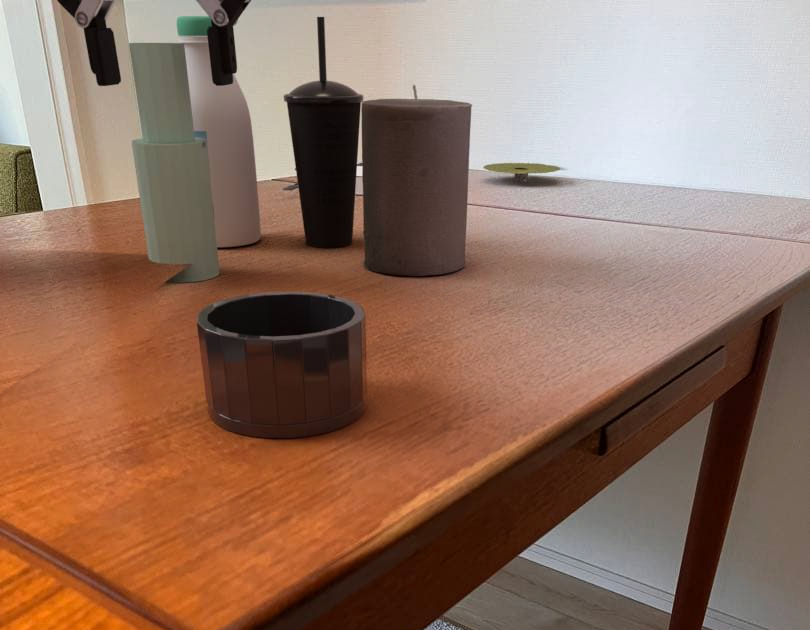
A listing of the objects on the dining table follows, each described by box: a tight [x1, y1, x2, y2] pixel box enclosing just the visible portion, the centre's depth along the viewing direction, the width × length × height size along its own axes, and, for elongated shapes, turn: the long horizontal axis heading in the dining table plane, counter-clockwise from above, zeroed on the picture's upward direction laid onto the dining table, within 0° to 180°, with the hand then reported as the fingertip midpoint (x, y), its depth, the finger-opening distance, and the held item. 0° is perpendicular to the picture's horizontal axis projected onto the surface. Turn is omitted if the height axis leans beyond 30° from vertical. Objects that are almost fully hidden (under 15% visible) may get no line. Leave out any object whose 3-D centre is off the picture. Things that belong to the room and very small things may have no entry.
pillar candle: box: [360, 84, 473, 277], centre depth 76 cm, size 10×10×15 cm
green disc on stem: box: [482, 162, 561, 183], centre depth 124 cm, size 11×11×2 cm
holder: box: [196, 291, 368, 439], centre depth 48 cm, size 9×9×6 cm
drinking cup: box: [283, 16, 365, 249], centre depth 82 cm, size 8×8×20 cm
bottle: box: [128, 42, 221, 284], centre depth 71 cm, size 6×6×18 cm
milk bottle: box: [176, 15, 262, 248], centre depth 83 cm, size 8×8×20 cm
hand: (166, 84), depth 68 cm, fingers open, 9 cm apart
